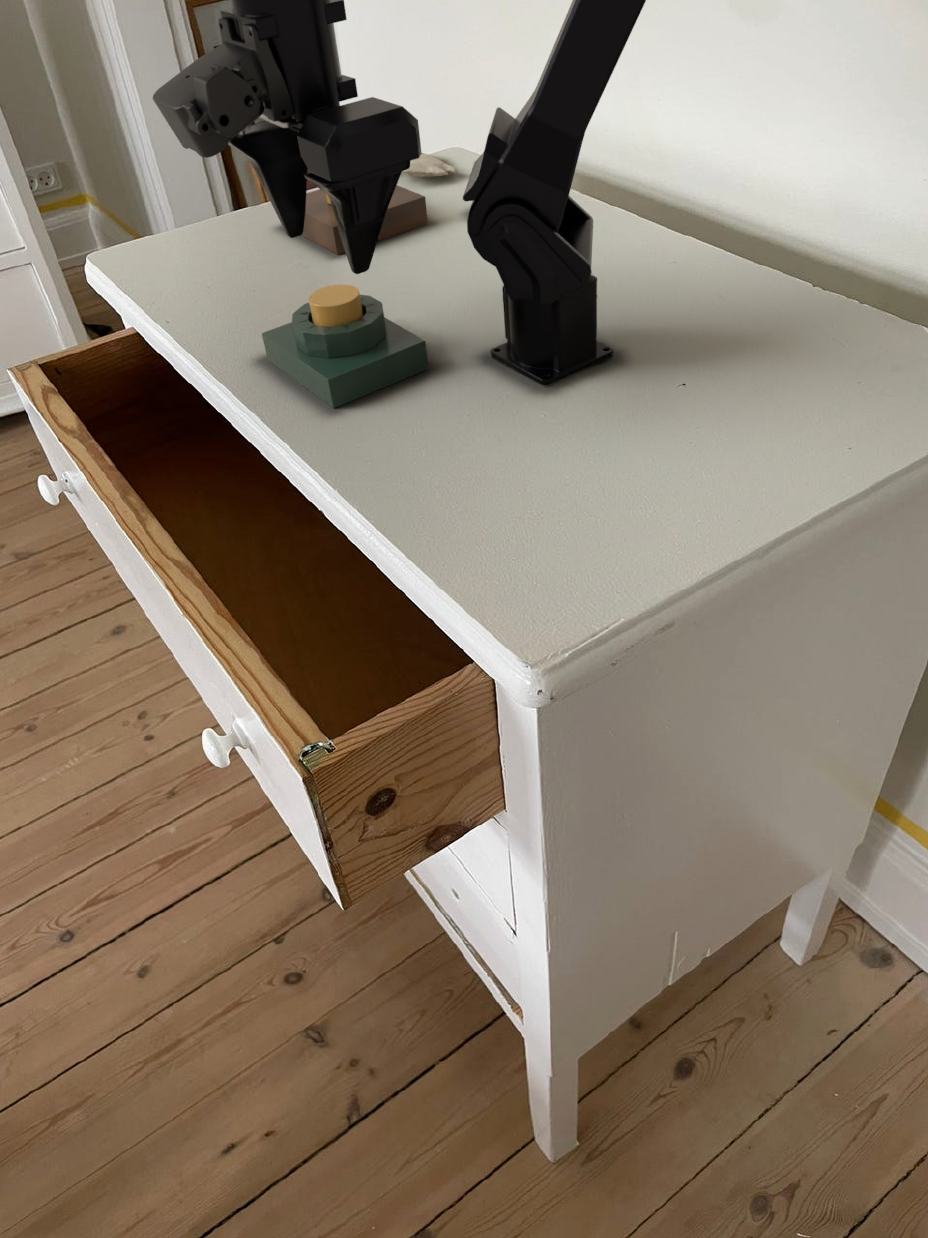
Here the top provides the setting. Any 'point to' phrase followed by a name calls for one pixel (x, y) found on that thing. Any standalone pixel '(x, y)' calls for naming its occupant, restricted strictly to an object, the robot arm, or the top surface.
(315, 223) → the lock plate
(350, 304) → the release button
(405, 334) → the box
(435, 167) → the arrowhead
